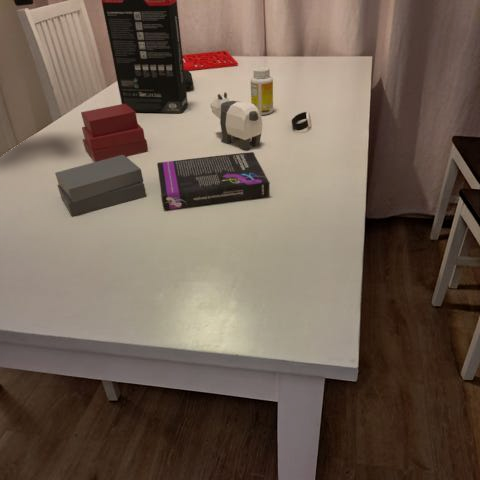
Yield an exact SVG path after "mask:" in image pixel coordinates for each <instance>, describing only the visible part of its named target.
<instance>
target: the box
mask: <svg viewBox="0 0 480 480" xmlns="http://www.w3.org/2000/svg"><path fill="white" fill-rule="evenodd" d="M156 166H157V171H158V172H157V173H158V180H159V186H160V188H159V189H160V198H161V203H162V208H163V210H164V211H167V210H168V211H169V210H175V209H182V208H189V207H196V206H204V205H213V204H220V203H228V202H235V201H242V200H250V199H259V198H265V197H269V196H270V190H271V189H270V184H271V181H269V179H268V177H267V176H266V173H265V172H264V169H263V168H262V166H261V164H260V162H259V161H258V159H257V157H256V154H255V152H254V151H248V152H239V153H231V154H220V155H213V156H204V157H203V156H202V157H194V158H188V159H179V160H178V159H177V160H170V161H169V160H168V161H160V162H157V163H156Z"/></svg>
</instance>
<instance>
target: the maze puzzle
mask: <svg viewBox="0 0 480 480" xmlns="http://www.w3.org/2000/svg"><path fill="white" fill-rule="evenodd" d="M182 56H183V65H184V70H188V71H195V70H205V69H214V68H223V67H233V66H238V65H239V63H238V61H237V60H236V59H235V58H234V57H233V55H231V54H230V53H229V51H227V50H218V51H209V52H208V51H207V52H199V53H190V54H189V53H188V54H182Z"/></svg>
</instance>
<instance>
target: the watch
mask: <svg viewBox="0 0 480 480" xmlns="http://www.w3.org/2000/svg"><path fill="white" fill-rule="evenodd" d="M303 120H304V121H303ZM301 121H302V122H301ZM291 125H292V128H293V130H294V131H304V130H305V129H307V128H311V127H312V118H311V114H310V112H309V111H308V110H307V111H303V112H299V113H298V114H296V115H295V116H294V117H293V118H292V119H291Z"/></svg>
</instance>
